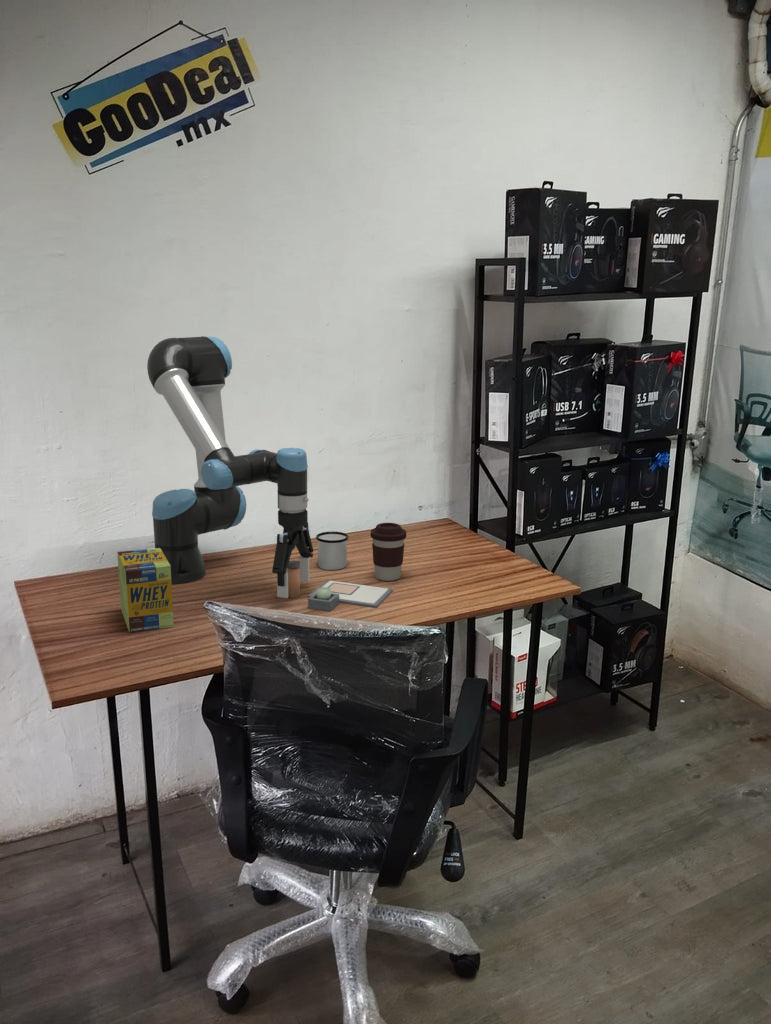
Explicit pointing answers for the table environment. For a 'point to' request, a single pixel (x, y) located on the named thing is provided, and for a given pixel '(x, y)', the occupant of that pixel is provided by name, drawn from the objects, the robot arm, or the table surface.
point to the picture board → (357, 593)
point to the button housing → (323, 602)
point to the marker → (293, 579)
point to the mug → (332, 550)
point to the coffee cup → (388, 550)
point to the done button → (324, 593)
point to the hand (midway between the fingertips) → (293, 588)
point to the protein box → (145, 589)
